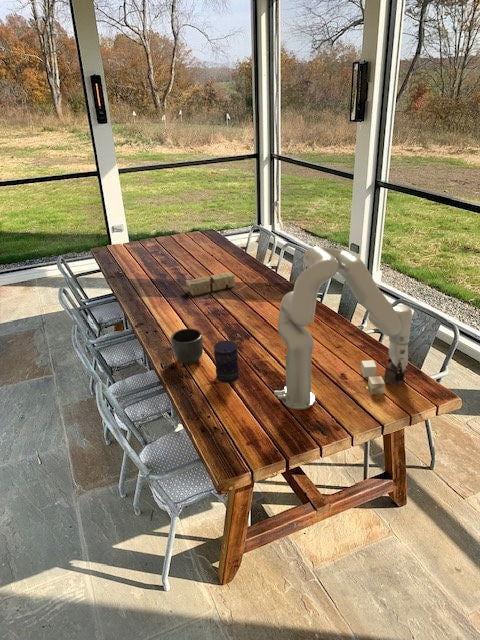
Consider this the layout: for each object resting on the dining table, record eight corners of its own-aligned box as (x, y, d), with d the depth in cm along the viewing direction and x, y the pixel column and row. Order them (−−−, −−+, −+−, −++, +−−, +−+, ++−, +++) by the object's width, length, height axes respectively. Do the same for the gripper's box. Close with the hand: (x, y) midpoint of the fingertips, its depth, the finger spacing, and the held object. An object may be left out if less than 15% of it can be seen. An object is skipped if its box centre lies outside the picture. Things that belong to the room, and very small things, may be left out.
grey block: (363, 377, 192) (364, 367, 189) (360, 370, 196) (361, 360, 194) (375, 376, 192) (376, 366, 189) (372, 370, 196) (373, 360, 194)
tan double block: (230, 284, 295) (186, 292, 285) (229, 271, 291) (185, 279, 281) (235, 288, 288) (190, 296, 278) (234, 275, 285) (189, 283, 275)
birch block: (370, 394, 181) (371, 384, 179) (367, 387, 185) (368, 376, 183) (383, 394, 181) (384, 383, 179) (380, 386, 185) (381, 376, 183)
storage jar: (217, 370, 203) (214, 340, 196) (239, 369, 202) (237, 340, 195) (215, 383, 194) (212, 352, 187) (239, 382, 193) (236, 352, 187)
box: (389, 375, 192) (391, 360, 189) (404, 379, 189) (406, 364, 185) (383, 381, 188) (385, 366, 185) (398, 386, 184) (400, 371, 181)
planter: (170, 357, 215) (167, 332, 209) (198, 349, 220) (196, 325, 214) (179, 371, 204) (175, 346, 198) (208, 363, 208) (206, 338, 202)
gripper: (416, 347, 171) (412, 385, 179) (401, 325, 187) (398, 361, 194) (396, 348, 172) (392, 386, 179) (383, 326, 187) (380, 362, 195)
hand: (395, 373), depth 187 cm, fingers open, 9 cm apart
